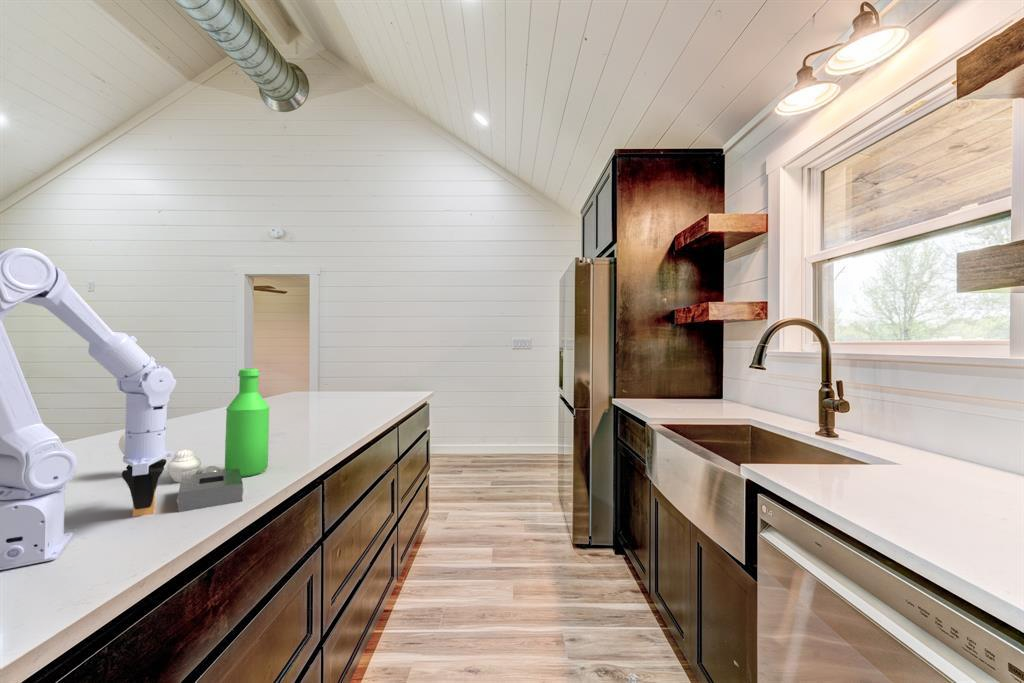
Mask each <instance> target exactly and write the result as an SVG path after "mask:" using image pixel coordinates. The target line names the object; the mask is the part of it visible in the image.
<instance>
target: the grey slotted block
mask: <svg viewBox="0 0 1024 683" xmlns="http://www.w3.org/2000/svg"><path fill="white" fill-rule="evenodd" d="M179 483H180V484H179V489H178V494H177V495H178V496H177V498H176V505H177V512H178V513H180V512H185V511H186V512H187V511H191V510H197V509H203V508H210V507H216V506H222V505H227V504H229V505H230V504H234V503H239V502H243V496H244V483H243V477H241V474H240V469H232V470H225V469H224V470H221V469H220V467H219V466H216V465H210V466H207V467H205V468H204V469H203V470H202V472H200V473H196V474H193V475H186V476H182V478H181V482H179Z"/></svg>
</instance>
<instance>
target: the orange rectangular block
mask: <svg viewBox="0 0 1024 683" xmlns="http://www.w3.org/2000/svg"><path fill="white" fill-rule="evenodd" d="M155 509H156V492H154V497H153V501H152V504H151V506H150V507H149V508H143V509H135V507H134V504H133V503H132V518H134V516H136V517H140V515H142V516H147V515H152V514H153V515H154V512H155Z"/></svg>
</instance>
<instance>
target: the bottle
mask: <svg viewBox="0 0 1024 683" xmlns="http://www.w3.org/2000/svg"><path fill="white" fill-rule="evenodd" d="M259 371H260V370H259V369H258V368H241V369H239V371H238V375H237V376H238V377H239V385H238V386H239V387H238V394H237V395H236V396H235V397H234V398H233V399H232V401H231V402H230V403H229V405H228V406H227V407H226V415H225V418H226V419H225V421H226V422H225V439H224V442H225V445H224V446H225V447H224V448H225V449H224V450H225V451H224V470H232V469H240V474H241V478H245V477H251V476H253V477H254V476H256V475H259V474H261V473H264V471H265V470H267V468H268V466H269V463H268V462H269V439H270V438H269V435H270V433H269V432H270V405H269V404H268V403H267V402H266V400H265V399H264V398H263V397H262V395H261V394H260V393H259V376H260V372H259Z"/></svg>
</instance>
